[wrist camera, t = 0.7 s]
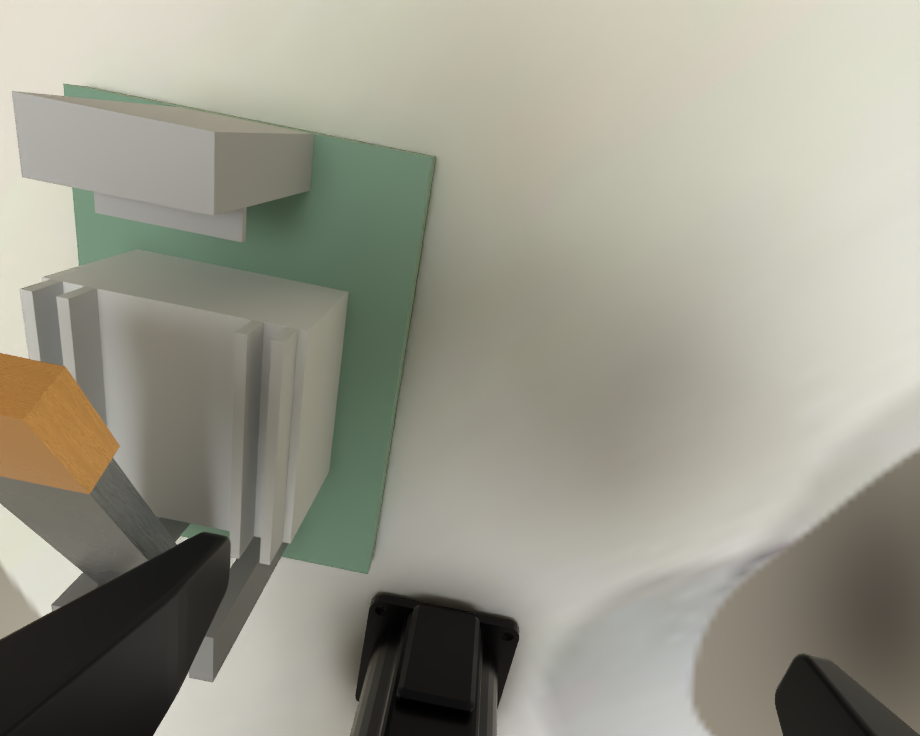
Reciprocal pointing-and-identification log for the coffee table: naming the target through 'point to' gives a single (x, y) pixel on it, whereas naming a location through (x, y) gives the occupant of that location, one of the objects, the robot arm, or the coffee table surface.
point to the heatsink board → (331, 252)
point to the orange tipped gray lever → (70, 473)
